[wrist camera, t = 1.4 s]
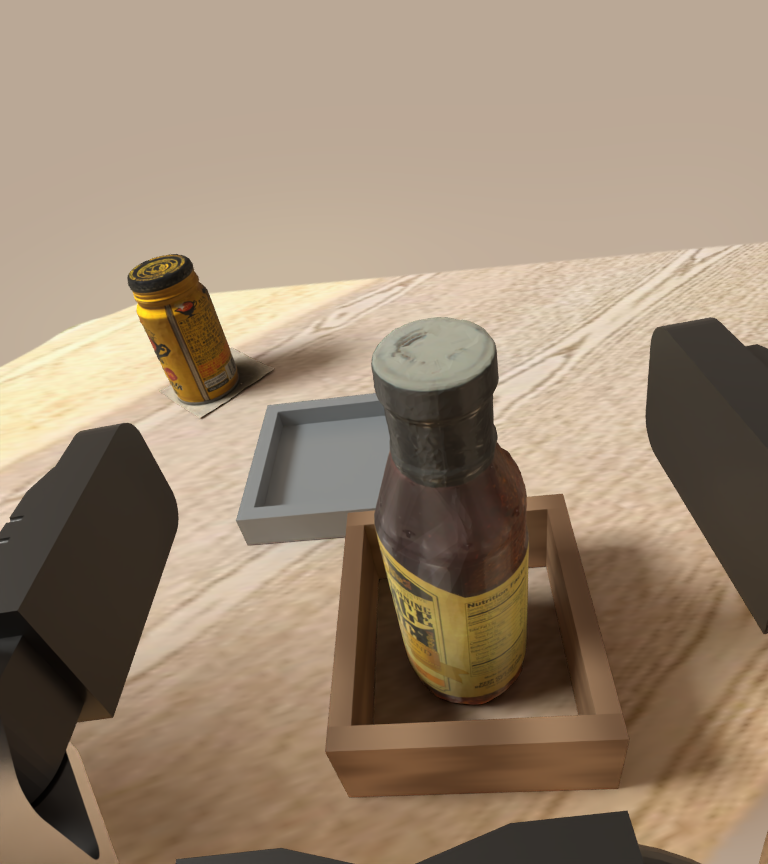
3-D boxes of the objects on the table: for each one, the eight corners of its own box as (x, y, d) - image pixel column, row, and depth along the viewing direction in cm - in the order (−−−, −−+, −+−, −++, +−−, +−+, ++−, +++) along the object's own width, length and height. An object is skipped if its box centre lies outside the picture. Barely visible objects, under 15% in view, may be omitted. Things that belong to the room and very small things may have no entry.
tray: (247, 545, 41) (235, 520, 39) (276, 429, 50) (267, 405, 48) (426, 530, 39) (421, 504, 38) (422, 413, 49) (418, 388, 47)
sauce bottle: (399, 619, 35) (322, 313, 22) (505, 593, 35) (489, 276, 22) (424, 734, 30) (343, 424, 17) (548, 703, 30) (559, 373, 17)
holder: (348, 797, 28) (325, 751, 25) (363, 566, 38) (347, 513, 35) (617, 788, 27) (629, 739, 24) (560, 551, 37) (563, 493, 33)
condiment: (159, 392, 57) (101, 275, 50) (232, 349, 61) (189, 234, 54) (200, 420, 53) (143, 296, 45) (276, 371, 57) (235, 249, 49)
